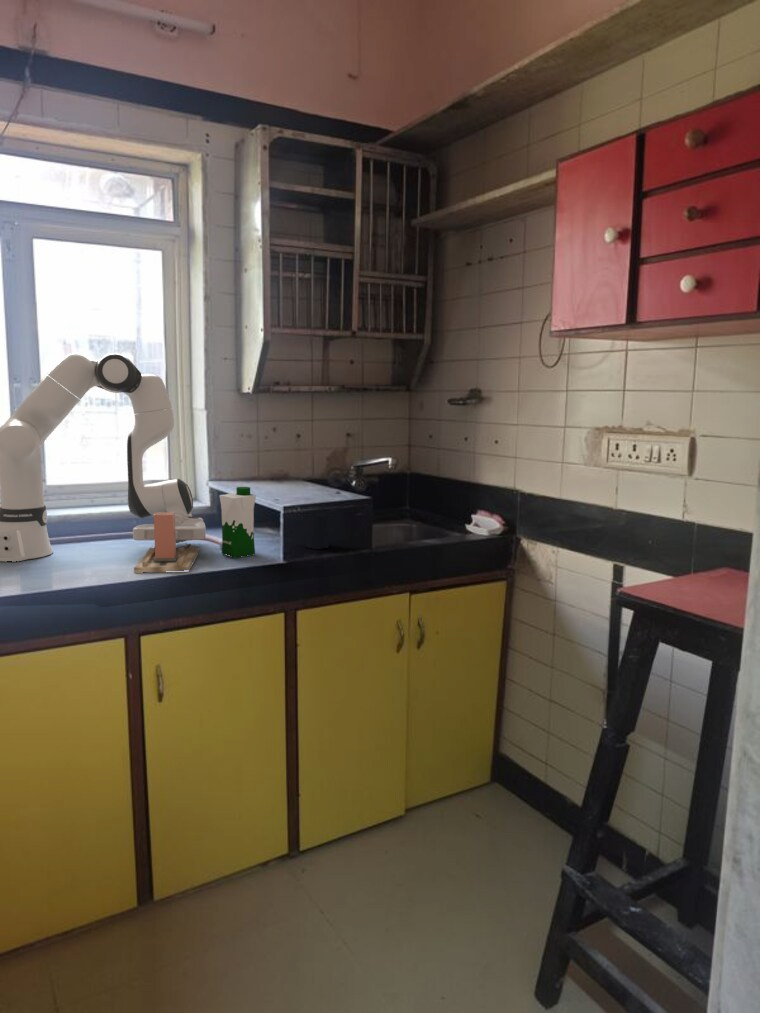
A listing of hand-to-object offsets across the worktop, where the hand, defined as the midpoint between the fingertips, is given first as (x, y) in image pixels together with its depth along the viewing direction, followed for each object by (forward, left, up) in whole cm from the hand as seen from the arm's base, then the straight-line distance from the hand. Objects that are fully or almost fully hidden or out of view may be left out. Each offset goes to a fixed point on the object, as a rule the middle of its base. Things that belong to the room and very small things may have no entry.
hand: (166, 537), depth 196 cm
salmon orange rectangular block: (0, -2, -6) cm, 6 cm away
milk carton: (+19, +10, -8) cm, 23 cm away
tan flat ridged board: (0, +2, -7) cm, 8 cm away
